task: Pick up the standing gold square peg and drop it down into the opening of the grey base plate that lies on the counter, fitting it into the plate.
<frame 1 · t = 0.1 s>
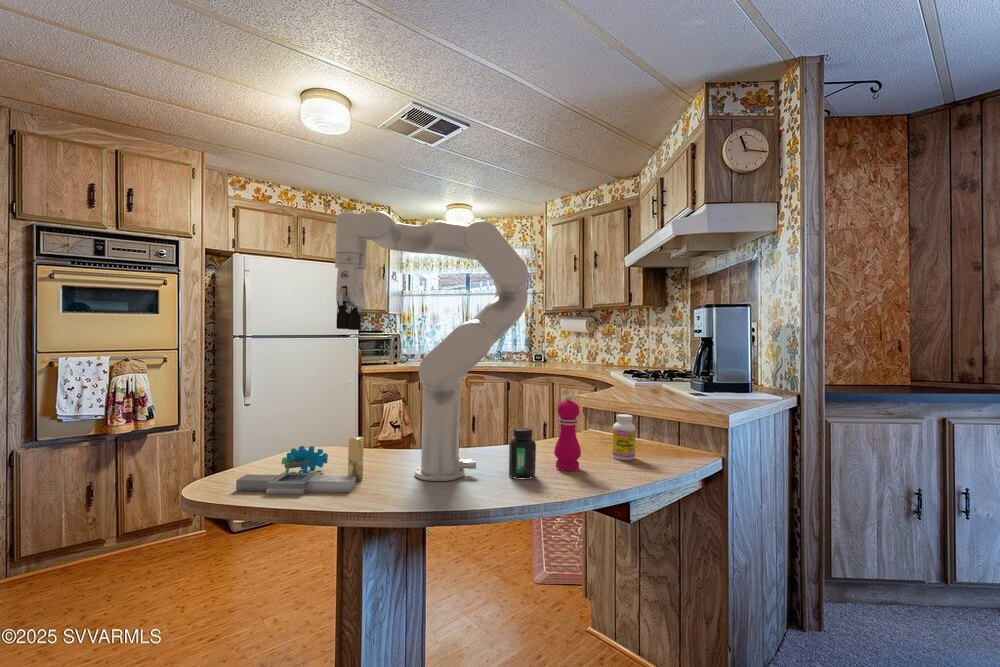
hand: (348, 329, 120), 37 cm above the table, tool pointing down, fingers open, 9 cm apart
pepper mill: (567, 468, 128), on the table
supplement bottle 2: (623, 458, 141), on the table
grey base plate: (292, 488, 106), on the table
gear: (304, 474, 119), on the table
gold square peg: (355, 479, 114), on the table
supplement bottle: (521, 476, 120), on the table
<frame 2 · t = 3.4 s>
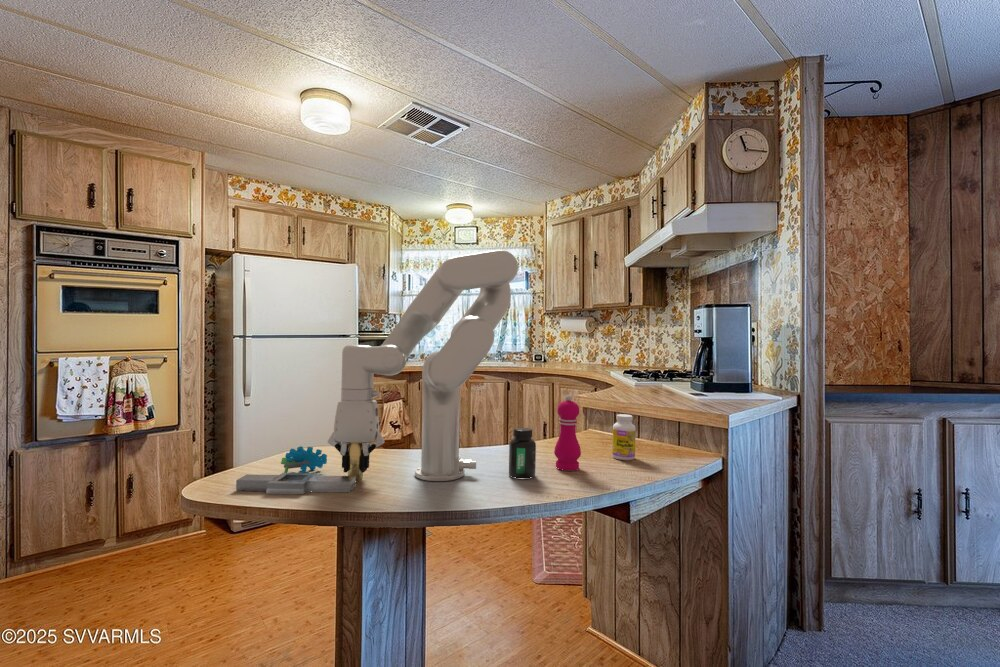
hand: (355, 470, 114), 2 cm above the table, tool pointing down, fingers closed on gold square peg, 3 cm apart
gold square peg: (355, 479, 114), on the table, touching gripper
everything else where it was.
when the fingers open (3 cm above the table, at t = 7.6 s): gold square peg drops 1 cm, resting in grey base plate.
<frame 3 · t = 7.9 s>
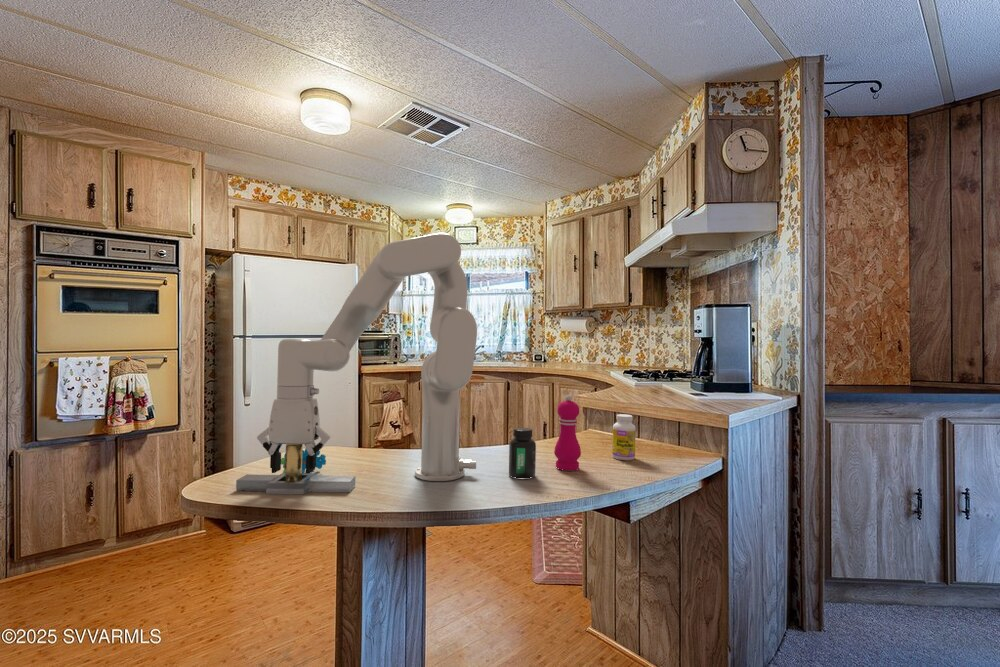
hand: (293, 471, 106), 4 cm above the table, tool pointing down, fingers open, 7 cm apart
gold square peg: (293, 488, 106), resting in grey base plate
everything else where it was.
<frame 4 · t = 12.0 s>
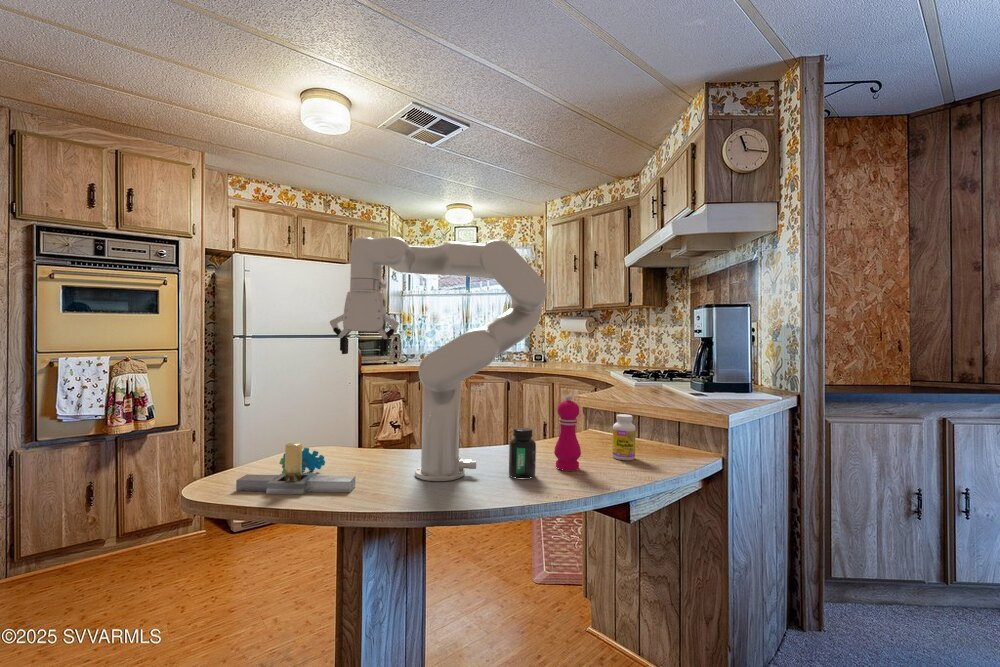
hand: (363, 354, 120), 30 cm above the table, tool pointing down, fingers open, 9 cm apart
at the end: gold square peg 0.1 cm off-centre on the grey base plate, point 0.0 cm above the grey base plate's base; gold square peg tilted 1°; the gripper is holding nothing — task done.
